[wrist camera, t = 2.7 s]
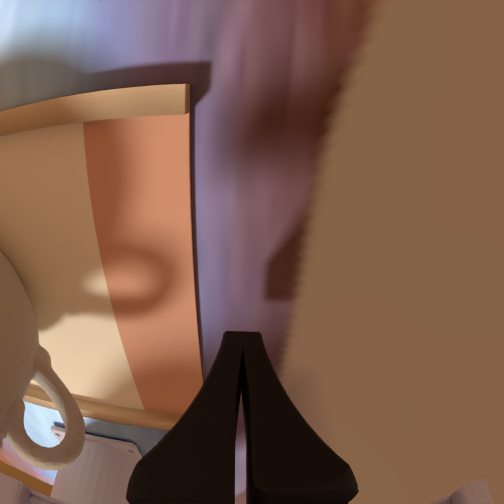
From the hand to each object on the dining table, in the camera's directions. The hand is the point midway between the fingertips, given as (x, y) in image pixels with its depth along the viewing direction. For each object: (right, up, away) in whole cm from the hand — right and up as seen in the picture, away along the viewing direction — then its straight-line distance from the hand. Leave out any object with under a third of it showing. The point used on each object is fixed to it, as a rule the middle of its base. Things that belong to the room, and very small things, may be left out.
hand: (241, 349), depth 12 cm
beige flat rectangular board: (-19, +2, +1) cm, 19 cm away
